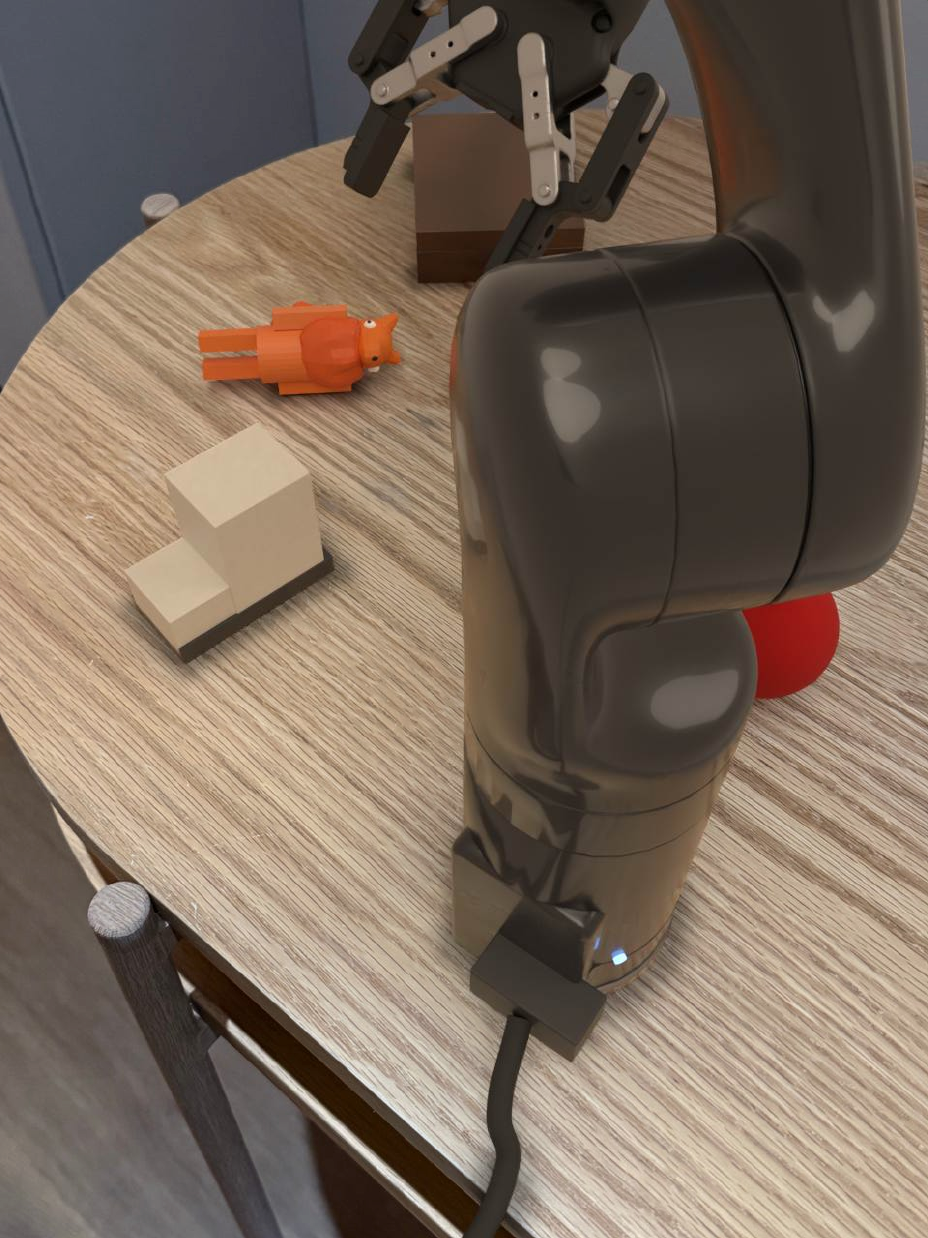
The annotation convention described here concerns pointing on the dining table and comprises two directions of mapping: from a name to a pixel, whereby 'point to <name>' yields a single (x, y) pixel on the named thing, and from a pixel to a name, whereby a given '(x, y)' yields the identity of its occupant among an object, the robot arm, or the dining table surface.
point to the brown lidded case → (471, 193)
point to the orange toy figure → (303, 349)
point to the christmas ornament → (793, 643)
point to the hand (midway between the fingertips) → (425, 235)
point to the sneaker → (231, 543)
